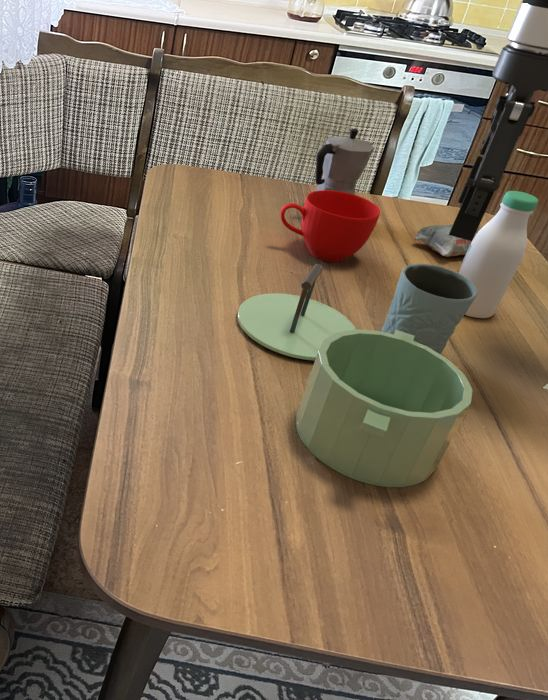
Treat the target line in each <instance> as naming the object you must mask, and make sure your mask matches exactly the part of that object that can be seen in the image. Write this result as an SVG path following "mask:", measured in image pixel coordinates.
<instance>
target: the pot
mask: <svg viewBox="0 0 548 700" xmlns="http://www.w3.org/2000/svg"><path fill="white" fill-rule="evenodd" d="M381 331H382V330H371V329H357V328H356V330H350V331H344V332H338V333H336V334H334V335H332V336H330V337H328V338H327V339H325V340H324V341H323V343H322V345H321V347H320V349H319V351H318V353H317V356H316V359H315V361H314V363H313V365H312V368H311V371H310V374H309V377H308V379H307V383H306V386H305V388H304V391H303V394H302V397H301V399H300V403H299V405H298V408H297V410H296V416H295V426H296V427H295V428H296V431H297V434H298V436H299V438H300V440H301V441H302V443H303V444H304V446H305V447H306V448H307V449H308V451H309V452H310V453H311V454H312V455H313V456H314V457H315V458H317V460H319V461H320V462H322V463H323V464H324V465H326V466H328V468H330V469H332V470H334V471H336V472H337V473H339V474H341V475H343V476H345V477H347V478H350V479H352V480H355V481H358V482H360V483H364V484H367V485H371V486H376V487H383V488H406V487H412V486H416V485H418V484H421V483H423V482H424V481H427V479H429V478H430V477H431V476H432V475H433V473H434V472H435V471H436V470H437V468H438V467H439V464H440V463H441V461H442V460H443V457H444V455H445V453H446V452H447V450H448V448H449V446H450V444H451V442H452V440H453V439H454V436H455V434H456V433H457V430H458V428H459V427H460V425H461V423H462V421H463V419H464V418H465V416H466V414H467V411H468V409H469V408H470V406H471V404H472V399H473V397H472V396H473V388H472V386H471V384H470V382H469V380H468V378H467V377H466V374H465V373H464V372H463V371H462V370H461V369H460V368H458V367H457V366H456V364H454V363H453V362H452V361H451V360H450V359H448V358H447V357H445V356H444V355H442V354H441V355H440V354H439V353H437V352H435V351H434V350H432V349H431V348H429V347H427V346H425V345H422V344H420V343H418V342H415V341H413V340H414V337H415V336H414V335H411V334H408V333H405V332H402V331H398V330H395V332H394V334H389V333H385V332H381Z"/></svg>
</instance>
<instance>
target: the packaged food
mask: <svg viewBox="0 0 548 700" xmlns="http://www.w3.org/2000/svg"><path fill="white" fill-rule="evenodd" d="M452 226H453V224H436V225H430V226H424V227H422V228H421V229H419V230H418V231H417V233H416V234H415V236H414V240H415V241H420V242H421V243H423V244H424V245H425V246H426V247H428V248H429V249H431V250H432V251H434V252H436V253H438V254H439V255H441V256H442V257H446V258H449V257H457V256H465V255H466V253H467V251H468V248H469V246H470V245H471V243H472V241H473V240H472V241H469V240H466V239H462V238H458V237H455V236H451V235H449V233H450V230H451V228H452ZM478 232H479V230H477V231H476V233H475V236H476V234H477V233H478ZM475 236H474V237H475ZM473 239H474V238H473Z"/></svg>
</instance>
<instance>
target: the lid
mask: <svg viewBox="0 0 548 700" xmlns="http://www.w3.org/2000/svg"><path fill="white" fill-rule="evenodd" d="M322 271H323V266H322V265H321V264H320V263H315V264H313V266H312V268H311V269H310V271H309V272H308V273H307V275H306V277H305V278H304V280H303V281H302V283H301V285H300V286H301V289H302V290H301V293H300V295H296V294H290V293H279V292H277V293H276V292H275V293H274V292H273V293H272V292H271V293H262V294H257V295H254V296H251V297H249V298H247V299H245V300H244V301H243V302H241V304H240V306H239V308H238V311H237V321H238V324H239V327H240V328H241V329H242V330H243V332H244V333H245V334H246V335H247V336H248V337H249V338H251V339H252V340H253V341H254V342H256V343H257V344H259V345H261V346H262V347H264V348H266V349H269V350H270V351H273V352H275V353H278V354H281V355H284V356H287V357H291V358H295V359H299V360H300V359H301V360H303V361H304V360H306V361H314V362H315V359H316V356H317V353H318V351H319V349H320V347H321V345H322V343H323V341H324V340H325V339H327V338H328V337H330V336H332V335H334V334H336V333H338V332H344V331H350V330H357V328H356V327H355V325H354V324H353V322H352V321H351V320H349V318H347V317H346V316H345V315H344V314H343V313H342V312H340V311H338V310H337V309H335V308H333V307H332V306H329V305H327V304H325V303H323V302H320V301H318V300H315V299H311V297H312V294H313V292H314V288H315V285H316V282H317V279H318V277H319V276H320V274H321V272H322Z"/></svg>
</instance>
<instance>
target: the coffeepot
mask: <svg viewBox="0 0 548 700" xmlns="http://www.w3.org/2000/svg"><path fill="white" fill-rule="evenodd" d="M359 131H360V130H358V129H356V128H350V129H349V136H331V137H329V138H328V139H326V140H325V144H323V145H322V147H321V148H320V149H319V150H318V151H317V153H316V157H315V158H316V159H315V180H314V183H315V184H316V185H317V187H316V189H315V191H319V190H332V191H340V192H346V193H350V194H353V195H356V188H355V187H356V185H357V182H358V181H359V180H360V179H361V176H362V174H363V173H364V170H365V168H366V166H367V164H368V162H369V160H370V158H371V156H372V155H373V153H374V150H375V147H374V146H373V145H374V143H373V142H369V141H368V140H365V139H359V138H356V137H357V136H358V133H359Z"/></svg>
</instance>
